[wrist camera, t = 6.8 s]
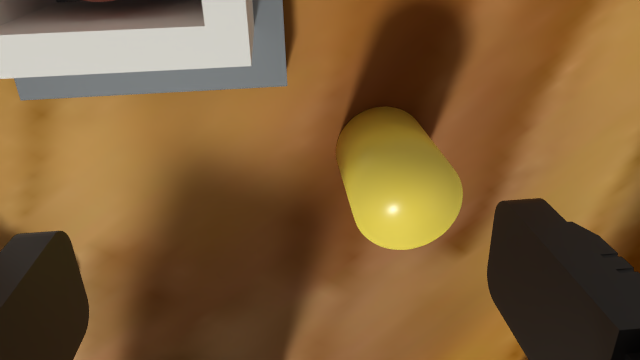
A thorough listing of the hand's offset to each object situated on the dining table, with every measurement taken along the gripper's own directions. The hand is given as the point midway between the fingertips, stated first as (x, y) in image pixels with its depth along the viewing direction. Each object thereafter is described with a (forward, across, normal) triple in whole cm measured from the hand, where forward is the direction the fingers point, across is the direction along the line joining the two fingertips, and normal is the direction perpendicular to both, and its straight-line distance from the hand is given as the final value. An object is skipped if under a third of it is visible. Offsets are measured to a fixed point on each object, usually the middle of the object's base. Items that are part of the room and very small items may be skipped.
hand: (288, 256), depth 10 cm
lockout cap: (+18, -5, +5) cm, 19 cm away
